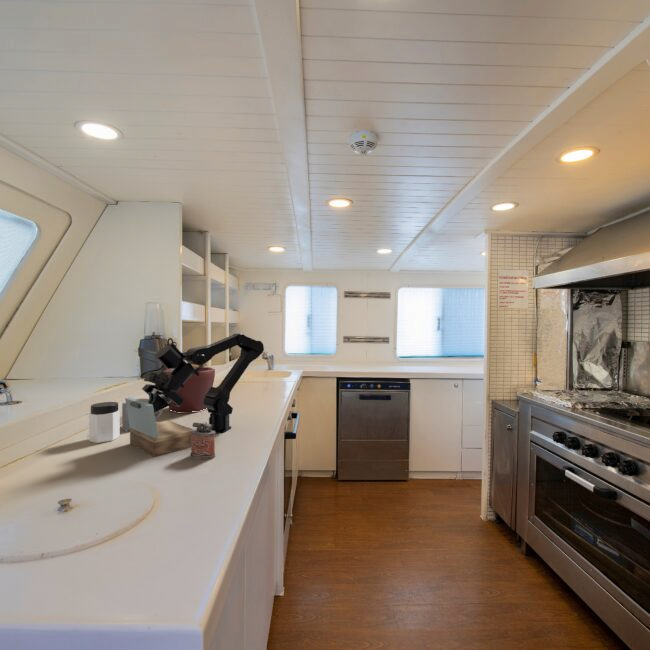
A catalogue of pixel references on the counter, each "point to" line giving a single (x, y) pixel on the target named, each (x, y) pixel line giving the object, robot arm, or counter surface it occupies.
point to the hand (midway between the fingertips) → (143, 416)
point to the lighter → (202, 441)
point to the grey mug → (125, 415)
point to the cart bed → (162, 438)
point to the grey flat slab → (141, 417)
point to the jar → (104, 422)
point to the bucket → (194, 390)
